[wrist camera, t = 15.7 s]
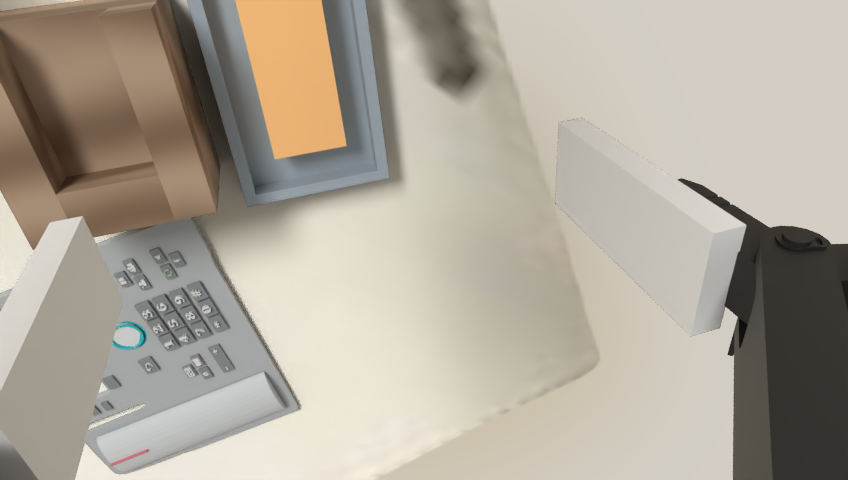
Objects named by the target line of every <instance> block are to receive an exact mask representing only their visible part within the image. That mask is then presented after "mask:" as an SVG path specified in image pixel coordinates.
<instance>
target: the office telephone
mask: <svg viewBox="0 0 848 480" xmlns="http://www.w3.org/2000/svg"><path fill="white" fill-rule="evenodd" d="M96 245H97V247H98V249H99V251H100V253H101V255H102V257H103V259H104V262H105V264H106V266H107V268H108V270H109V272H110V274H111V276H112V278H113V280H114V282H115V285H116V287H117V289H118V291H119V293H120V295H121V297H122V299H123V304H122V308H121V311H120V315H119V319H118V322H117V326H116V330H115V333H114V337H113V341H112V344H111V348H110V352H109V356H108V359H107V363H106V367H105V370H104V374H103V378H102V381H101V382H102V383H103V384H104V385H105V386H106V388H107V389H108V390H106V391H103V392H101V393H98V396H97V400H96V403H95V407H94V411H93V414H92V418H91V422H90V423H92V422H95V421H97V420H100V419H102V418H105V417H108V416H110V415H113V414H115V413H118V412H121V411H123V410H126V409H128V408H131V407H134V406H136V405H139V404H142V403H145V406H144V407H142V408H141V409H138V410H136V411H133V412H131V413H128V414H126V415H124V416H121V417H119V418H116V419H114V420H111V421H109V422H106V423H104V424H101V425H99V426H97V427H94V428H92V429H89V430H88V433H87V436H86V440H85V443H86V444H87V445H88V446H89V447H90V449H91V450H92V451H93V452H94V453H95V454H96V455H97V456H98V457H99V458H100V459H101V460H102V461H103V462H104V463H105V464H106V465H107V466H108V467H109V468H110V469H111V470H112V471H113V472H114V473H116V474H127V473H130V472H133V471H136V470H139V469H142V468H145V467H148V466H150V465H153V464H156V463H159V462H161V461H164V460H167V459H169V458H172V457H174V456H176V455H179V454H181V453H184V452H189V451H192V450H195V449H197V448H200V447H203V446H205V445H208V444H210V443H213V442H216V441H218V440H221V439H223V438H226V437H229V436H231V435H234V434H236V433H239V432H242V431H244V430H247V429H249V428H252V427H255V426H257V425H260V424H263V423H265V422H268V421H270V420H273V419H276V418H278V417H281V416H283V415H286V414H289V413H292V412H295V411H297V410H298V403H297V401H296V400H295V398H294V396H293V394H292V392H291V391H290V389H289V387H288V385H287V384H286V382H285V380H284V378H283V377H282V375H281V373H280V372H279V370H278V368H277V366H276V365H275V363H274V361H273V360H272V358H271V356H270V354H269V353H268V351H267V349H266V348H265V346H264V344H263V342H262V341H261V339H260V337H259V336H258V334H257V332H256V330H255V329H254V327H253V325H252V324H251V322H250V320H249V318H248V317H247V315H246V313H245V312H244V310H243V308H242V306H241V305H240V303H239V301H238V300H237V298H236V296H235V294H234V293H233V291H232V289H231V288H230V286H229V284H228V282H227V281H226V279H225V277H224V276H223V274H222V272H221V270H220V269H219V267H218V265H217V263H216V261H215V260H214V258H213V255H212V253H211V250H210V248H209V246H208V244H207V242H206V240H205V238H204V237H203V235H202V233H201V231H200V230H199V228H198V226H197V224H196V223H195V221H194V219H193V217H192V218H187V219H182V220H177V221H172V222H167V223H162V224H157V225H152V226H147V227H142V228H138V229H133V230H130V231H128V232H125V233H123V234H120V235H117V236H115V237H112V238H109V239H107V240H104V241H102V242H99V243H96ZM12 289H13V288H12ZM12 289H9V290H7V291H4V292H2V293H0V311H1V309H2V307H3V306H4V304H5V302H6V300H7V298H8V297H9V295H10V293H11V291H12ZM144 335H145V336H144Z"/></svg>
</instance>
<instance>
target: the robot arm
mask: <svg viewBox="0 0 848 480" xmlns="http://www.w3.org/2000/svg"><path fill="white" fill-rule="evenodd" d="M555 204H556V205H557V206H558V207H559V208H560V209H561V210H562V211H563V212H564V213H565V214H566V215H567V216H568V217H569V218H570V219H571V220H572V221H573V222H574V223H575V224H576V225H578V227H579V228H580V229H581V230H582V231H583V232H584V233H585V234H587V235H588V236H589V237H590V238H591V239H592V240H593V241H594V242H595V243H596V244H597V245H598V246H599V247H600V248H601V249H602V250H603V251H604V252H605V253H606V254H607V255H608V256H609V257H610V258H611V259H612V260H613V261H614V262H615V263H616V264H617V265H618V266H619V267H620V268H621V269H622V270H623V271H624V272H626V274H628V276H629V277H631V278H632V279H633V280H634V281H635V282H636V283H637V284H638V285H639V286H640V287H641V288H642V289H643V290H644V291H645V292H646V293H647V294H648V295H649V296H650V297H651V298H652V299H653V300H654V301H655V302H656V303H657V304H658V305H659V306H660V307H661V308H662V309H663V310H664V311H665V312H666V313H667V314H668V315H669V316H670V317H671V318H672V319H673V320H675V322H677V324H678V325H680V326H681V327H682V328H683V329H684V330H685V331H686V332H687V333H688V334H689V335H690V336H694V335H697V334H701V333H705V332H708V331H712V330H715V329H718V328H720V326H721V322H722V318H723V314H724V310H725V307H727V308H728V309H729V310H730V311H732V312H733V313H734V314H735V315H736V316H738V319H737V323H736V326H735V330H734V333H733V337H732V341H731V344H730V348H729V352H728V355H730V356H733V355H734V428H733V429H734V430H733V431H734V432H733V437H734V438H733V480H848V244H831V243H830V242H829V241H828V240H827V239H826V238H824V237H823V236H821V235H820V234H817V233H815V232H813V231H810V230H807V229H803V228H798V227H794V226H778V227H772V228H769V227H768V226H766V225H764V224H763V223H761V222H760V221H758V220H757V219H755V218H753V217H752V216H750V215H748V214H747V213H745V212H744V211H742V210H741V209H739V208H738V207H736V206H734V205H730V203H729V202H728V201H726V200H725V199H723V198H722V197H718V196H717V194H715V193H714V192H712V191H710V190H709V189H707V188H706V187H704V186H703V185H700V184H697V183H694V182H691V181H688V180H685V179H678V180H677V179H675V178H674V177H672V176H671V175H669V174H668V173H666V172H665V171H663V170H662V169H660V168H658V167H657V166H655V165H654V164H652V163H651V162H649V161H648V160H646V159H644V158H643V157H642V156H640V155H639V154H637V153H635V152H634V151H632V150H631V149H629V148H628V147H626V146H625V145H623V144H622V143H620V142H619V141H617V140H616V139H614V138H613V137H611V136H610V135H608V134H606V133H605V132H603V131H602V130H600V129H599V128H597V127H596V126H594V125H592V124H591V123H590V122H588V121H586V120H585V119H584V118H577V119H573V120H567V121H562V122H559V126H558V148H557V170H556V193H555ZM122 304H123V299H122V297H121V295H120V293H119V291H118V289H117V287H116V285H115V282H114V280H113V278H112V276H111V274H110V272H109V270H108V268H107V266H106V264H105V262H104V259H103V257H102V255H101V253H100V251H99V249H98V247H97V245H96V243H95V241H94V239H93V236H92V234H91V232H90V230H89V228H88V226H87V224H86V222H85V220H84V218H83V216H80V217H75V218H70V219H65V220H60V221H55V222H50V223H49V225H48V227H47V229H46V230H45V232H44V234H43V236H42V238H41V239H40V241H39V243H38V245H37V246H36V248H35V250H34V252H33V254H32V255H31V257H30V259H29V261H28V263H27V264H26V266H25V268H24V270H23V272H22V273H21V275H20V277H19V279H18V281H17V282H16V284H15V286H14V288H13V289H12V291H11V293H10V295H9V297H8V298H7V300H6V302H5V304H4V306H3V307H2V309H1V311H0V480H75V477H76V473H77V469H78V466H79V462H80V458H81V455H82V451H83V447H84V444H85V440H86V436H87V433H88V429H89V425H90V422H91V418H92V414H93V411H94V407H95V403H96V400H97V396H98V392H99V389H100V385H101V381H102V378H103V374H104V370H105V367H106V363H107V359H108V356H109V352H110V348H111V344H112V341H113V337H114V333H115V330H116V326H117V322H118V319H119V315H120V311H121V308H122Z"/></svg>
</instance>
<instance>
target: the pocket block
mask: <svg viewBox="0 0 848 480" xmlns="http://www.w3.org/2000/svg"><path fill="white" fill-rule="evenodd" d="M219 176H220V163H219V160H218V157H217V154H216V150H215V147H214V144H213V141H212V137H211V134H210V131H209V128H208V124H207V121H206V118H205V115H204V111H203V108H202V105H201V102H200V98H199V95H198V92H197V89H196V85H195V82H194V79H193V76H192V72H191V69H190V66H189V63H188V59H187V56H186V53H185V50H184V46H183V43H182V40H181V37H180V33H179V30H178V27H177V24H176V20H175V17H174V14H173V11H172V7H171V4H170V1H169V0H82V1H75V2H67V3H60V4H52V5H45V6H37V7H29V8H22V9H14V10H7V11H0V191H1V193H2V194H3V196H4V198H5V200H6V202H7V203H8V205H9V207H10V209H11V211H12V213H13V214H14V216H15V218H16V220H17V222H18V224H19V225H20V227H21V229H22V231H23V233H24V235H25V236H26V238H27V240H28V242H29V244H30V246H31V247H32V249H33V250H34V249H35V248H36V246H37V245H38V243H39V241H40V239H41V238H42V236H43V234H44V232H45V230H46V229H47V227H48V225H49V223H50V222H55V221H60V220H65V219H70V218H75V217H80V216H83V218H84V220H85V222H86V224H87V226H88V228H89V230H90V232H91V234H92V236H93V237H98V236H103V235H108V234H113V233H118V232H123V231H128V230H133V229H138V228H142V227H147V226H152V225H157V224H162V223H167V222H172V221H177V220H182V219H187V218H192V217H197V216H201V215H206V214H211V213H216V212H217V206H218V191H219Z"/></svg>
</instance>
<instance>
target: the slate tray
mask: <svg viewBox="0 0 848 480" xmlns="http://www.w3.org/2000/svg"><path fill="white" fill-rule="evenodd" d="M187 2H188V5H189V9H190V12H191V16H192V19H193V23H194V26H195V29H196V33H197V36H198V40H199V43H200V47H201V50H202V53H203V57H204V60H205V64H206V67H207V71H208V74H209V77H210V81H211V84H212V88H213V91H214V95H215V98H216V101H217V105H218V108H219V112H220V115H221V119H222V122H223V125H224V129H225V132H226V136H227V139H228V142H229V146H230V149H231V153H232V156H233V160H234V163H235V166H236V170H237V173H238V177H239V180H240V184H241V187H242V190H243V194H244V197H245V201H246V204H247V207H250V206H255V205H260V204H265V203H270V202H275V201H280V200H285V199H289V198H294V197H299V196H304V195H309V194H314V193H319V192H324V191H329V190H334V189H339V188H343V187H348V186H353V185H358V184H363V183H368V182H373V181H378V180H383V179H388V178H389V171H388V164H387V157H386V149H385V142H384V134H383V127H382V120H381V112H380V105H379V98H378V90H377V83H376V75H375V68H374V61H373V53H372V46H371V38H370V31H369V24H368V16H367V9H366V1H365V0H322V6H323V12H324V18H325V23H326V29H327V35H328V41H329V47H330V52H331V58H332V64H333V70H334V76H335V81H336V87H337V93H338V99H339V104H340V110H341V116H342V122H343V128H344V133H345V139H346V145H347V146H344V147H338V148H333V149H328V150H322V151H317V152H312V153H307V154H301V155H296V156H291V157H286V158H280V159H275V158H274V154H273V150H272V146H271V142H270V138H269V134H268V130H267V126H266V122H265V118H264V114H263V110H262V106H261V102H260V98H259V94H258V90H257V86H256V82H255V78H254V74H253V70H252V66H251V62H250V58H249V54H248V50H247V46H246V42H245V38H244V34H243V30H242V26H241V22H240V18H239V14H238V10H237V6H236V2H235V0H187Z"/></svg>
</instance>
